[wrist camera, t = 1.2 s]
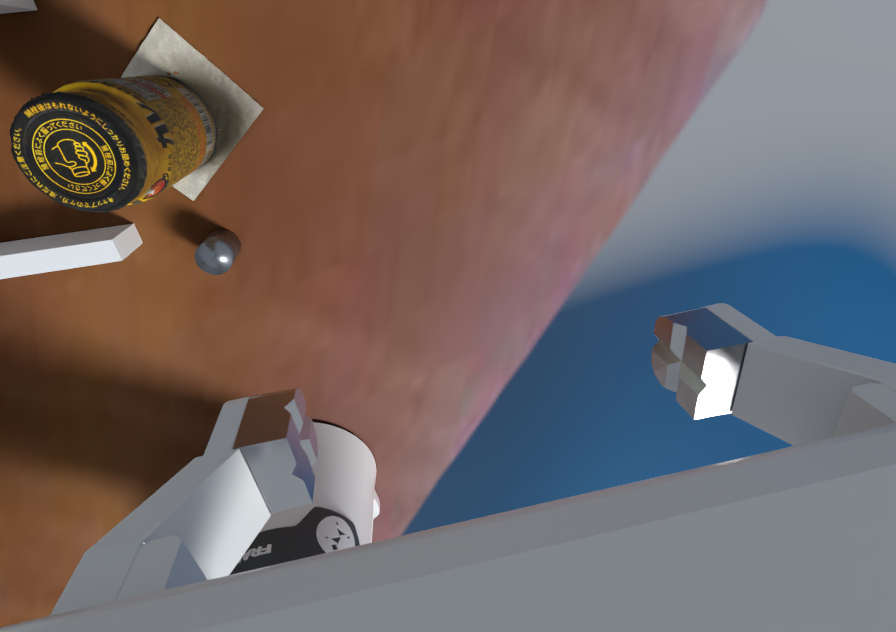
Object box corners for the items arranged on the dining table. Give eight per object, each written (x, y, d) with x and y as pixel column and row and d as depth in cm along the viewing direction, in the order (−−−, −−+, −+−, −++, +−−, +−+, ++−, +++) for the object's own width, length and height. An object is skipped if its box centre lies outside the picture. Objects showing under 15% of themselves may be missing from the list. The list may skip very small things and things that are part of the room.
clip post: (229, 265, 36) (219, 280, 34) (200, 245, 35) (187, 260, 33) (247, 242, 36) (238, 257, 33) (218, 222, 35) (207, 235, 32)
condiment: (89, 126, 31) (-48, 161, 20) (160, 18, 29) (47, -5, 18) (194, 200, 34) (122, 263, 24) (264, 108, 32) (219, 132, 21)
